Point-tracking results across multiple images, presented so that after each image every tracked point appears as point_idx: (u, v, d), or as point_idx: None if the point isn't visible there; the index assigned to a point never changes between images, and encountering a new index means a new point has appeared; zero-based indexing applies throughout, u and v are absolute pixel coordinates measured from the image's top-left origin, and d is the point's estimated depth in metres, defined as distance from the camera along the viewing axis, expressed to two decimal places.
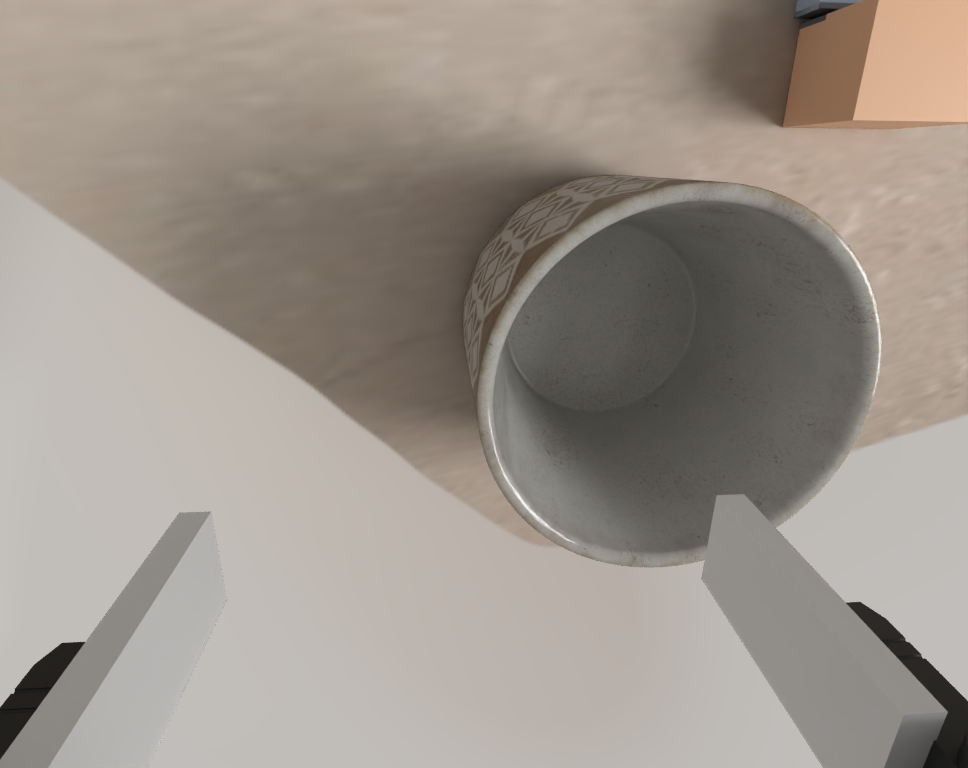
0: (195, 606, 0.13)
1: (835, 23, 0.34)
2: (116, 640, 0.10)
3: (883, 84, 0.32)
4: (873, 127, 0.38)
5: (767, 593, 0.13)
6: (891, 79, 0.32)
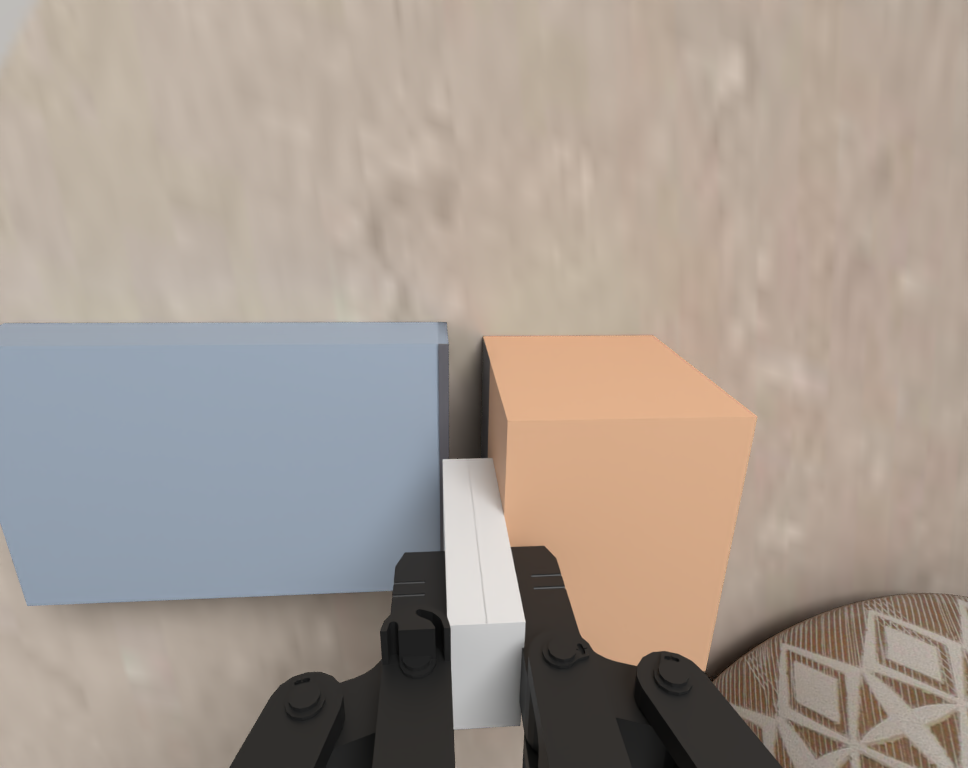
0: None
1: None
2: (468, 544, 0.13)
3: (649, 638, 0.16)
4: None
5: None
6: (643, 627, 0.16)
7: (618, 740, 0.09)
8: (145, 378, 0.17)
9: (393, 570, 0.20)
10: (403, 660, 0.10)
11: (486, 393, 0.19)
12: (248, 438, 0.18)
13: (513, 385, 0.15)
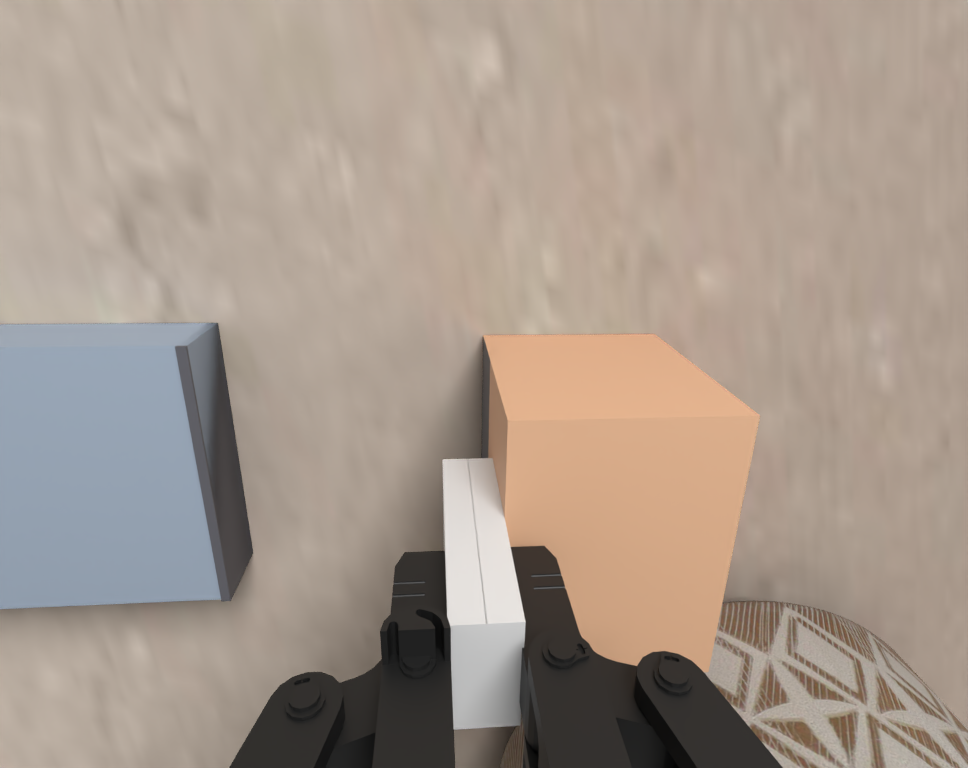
0: None
1: None
2: (468, 545, 0.13)
3: (652, 639, 0.16)
4: None
5: None
6: (645, 628, 0.16)
7: (618, 740, 0.09)
8: None
9: (168, 580, 0.19)
10: (403, 660, 0.10)
11: (486, 393, 0.19)
12: None
13: (513, 385, 0.15)
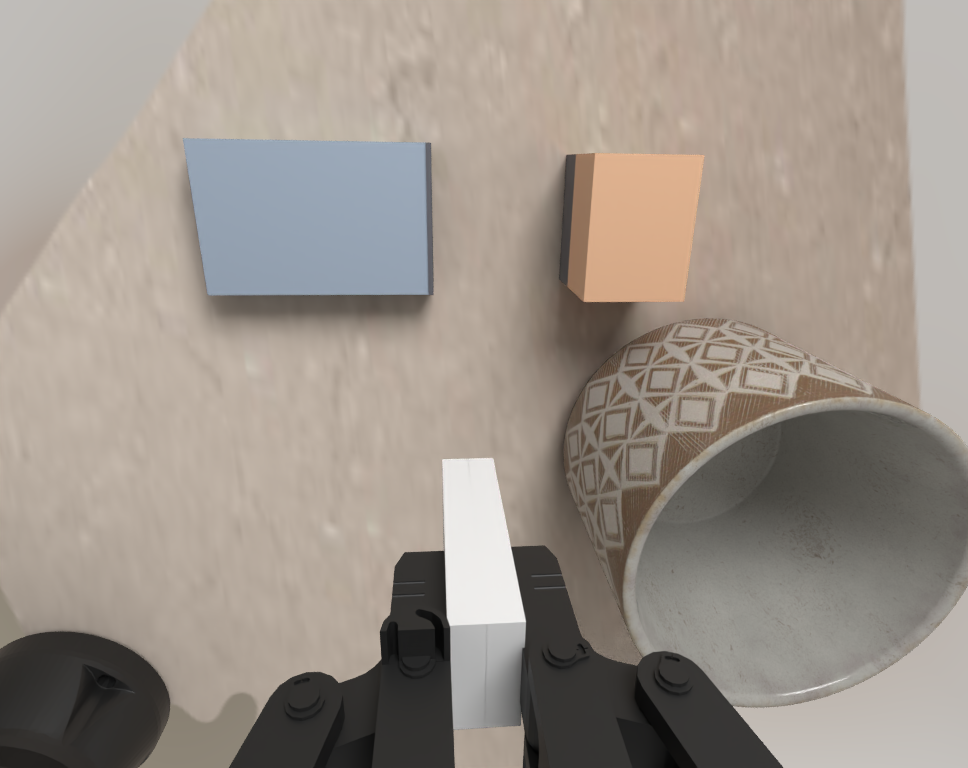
0: None
1: None
2: (468, 544, 0.13)
3: (656, 278, 0.33)
4: None
5: None
6: (653, 271, 0.33)
7: (618, 740, 0.09)
8: (278, 159, 0.34)
9: (402, 281, 0.37)
10: (403, 660, 0.10)
11: (571, 179, 0.36)
12: (328, 195, 0.34)
13: None
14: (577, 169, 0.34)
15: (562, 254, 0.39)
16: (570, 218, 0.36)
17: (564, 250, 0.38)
